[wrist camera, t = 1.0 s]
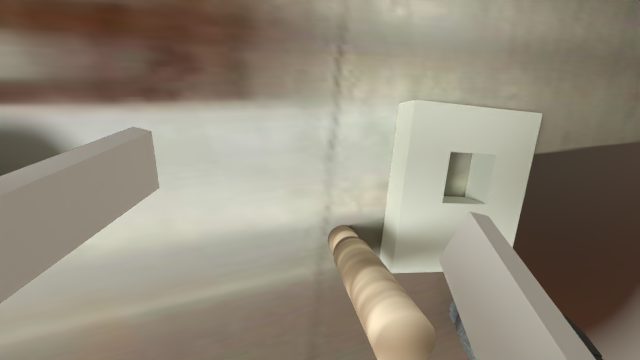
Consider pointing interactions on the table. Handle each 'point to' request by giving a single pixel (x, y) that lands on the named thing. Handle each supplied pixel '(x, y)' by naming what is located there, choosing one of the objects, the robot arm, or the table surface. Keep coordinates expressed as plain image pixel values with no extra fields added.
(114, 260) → the table surface
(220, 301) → the table surface
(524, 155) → the board
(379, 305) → the beech leg
